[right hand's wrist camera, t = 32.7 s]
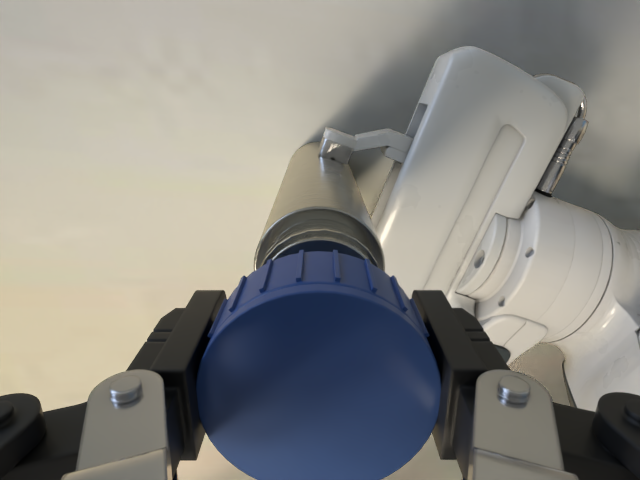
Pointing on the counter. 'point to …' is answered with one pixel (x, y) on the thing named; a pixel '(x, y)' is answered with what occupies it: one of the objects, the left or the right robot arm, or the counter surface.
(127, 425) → the right robot arm
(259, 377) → the lid
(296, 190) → the metal cylinder
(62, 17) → the counter surface
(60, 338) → the counter surface
